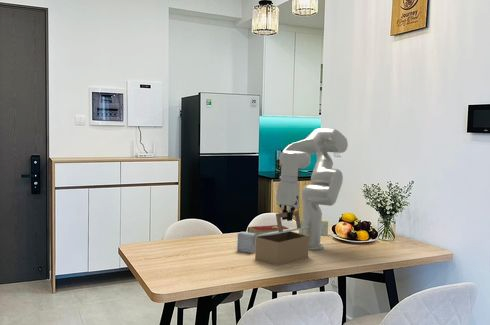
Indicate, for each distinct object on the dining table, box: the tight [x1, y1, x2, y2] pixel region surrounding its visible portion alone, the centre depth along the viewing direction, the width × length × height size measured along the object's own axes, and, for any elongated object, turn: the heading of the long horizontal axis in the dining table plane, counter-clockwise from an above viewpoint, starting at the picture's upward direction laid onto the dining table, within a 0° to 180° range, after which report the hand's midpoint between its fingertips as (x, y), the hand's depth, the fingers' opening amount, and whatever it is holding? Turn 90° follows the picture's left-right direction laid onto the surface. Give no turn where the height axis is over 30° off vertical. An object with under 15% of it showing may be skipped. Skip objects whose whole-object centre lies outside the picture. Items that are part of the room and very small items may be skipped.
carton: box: [254, 231, 310, 267], centre depth 207 cm, size 13×22×10 cm, turn 135°
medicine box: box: [236, 231, 256, 254], centre depth 216 cm, size 8×4×9 cm, turn 65°
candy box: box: [298, 219, 329, 237], centre depth 257 cm, size 16×2×8 cm, turn 83°
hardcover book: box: [247, 224, 290, 235], centre depth 254 cm, size 12×21×4 cm, turn 115°
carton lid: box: [256, 209, 309, 237], centre depth 207 cm, size 13×22×9 cm, turn 135°
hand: (287, 219), depth 204 cm, fingers closed on carton lid, 2 cm apart
